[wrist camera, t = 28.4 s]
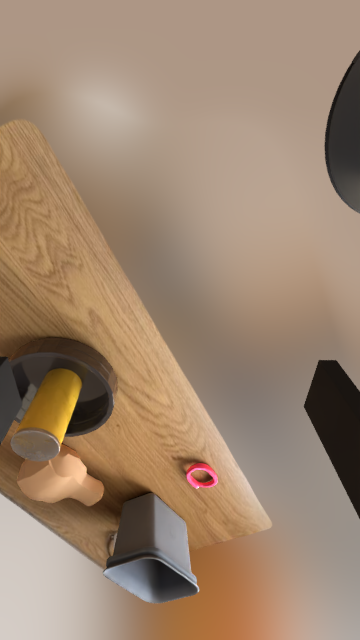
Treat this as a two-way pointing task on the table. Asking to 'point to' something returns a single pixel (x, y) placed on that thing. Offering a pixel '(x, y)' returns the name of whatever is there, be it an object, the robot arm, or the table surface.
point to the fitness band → (202, 467)
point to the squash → (59, 479)
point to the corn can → (47, 416)
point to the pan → (78, 358)
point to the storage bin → (151, 552)
